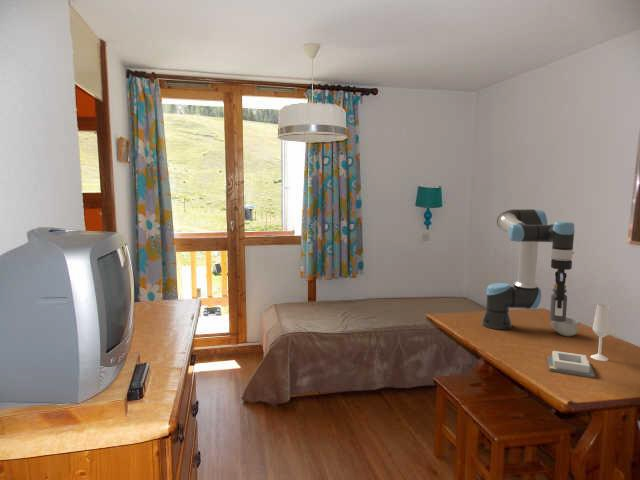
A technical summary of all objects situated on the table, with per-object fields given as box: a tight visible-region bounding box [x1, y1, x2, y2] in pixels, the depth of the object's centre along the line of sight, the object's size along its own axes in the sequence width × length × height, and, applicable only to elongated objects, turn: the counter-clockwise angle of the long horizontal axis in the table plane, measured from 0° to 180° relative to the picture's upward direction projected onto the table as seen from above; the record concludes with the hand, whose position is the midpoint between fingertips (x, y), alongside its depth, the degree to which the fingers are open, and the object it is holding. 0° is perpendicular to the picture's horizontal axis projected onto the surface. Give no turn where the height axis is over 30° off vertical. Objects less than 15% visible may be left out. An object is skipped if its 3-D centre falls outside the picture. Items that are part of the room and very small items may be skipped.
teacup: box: [549, 316, 580, 337], centre depth 220 cm, size 14×11×8 cm
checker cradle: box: [546, 350, 596, 379], centre depth 179 cm, size 16×16×4 cm
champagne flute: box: [590, 303, 612, 362], centre depth 188 cm, size 7×7×24 cm
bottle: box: [549, 283, 568, 322], centre depth 177 cm, size 6×6×15 cm
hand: (558, 313), depth 178 cm, fingers closed on bottle, 6 cm apart
